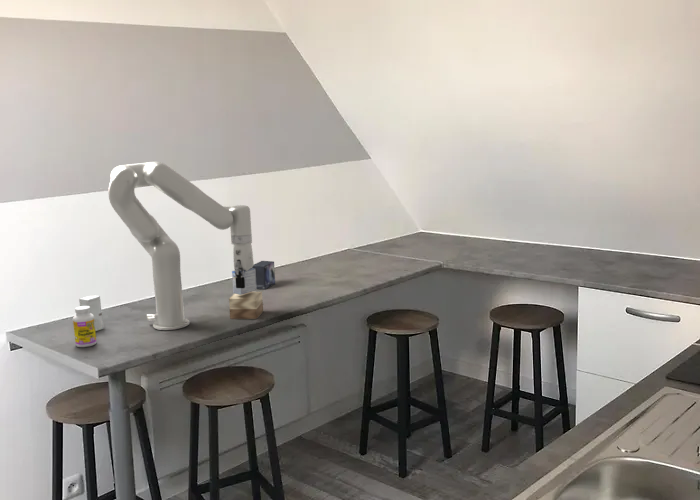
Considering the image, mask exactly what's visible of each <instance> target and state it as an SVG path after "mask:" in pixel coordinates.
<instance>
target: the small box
mask: <svg viewBox="0 0 700 500" xmlns="http://www.w3.org/2000/svg"><path fill="white" fill-rule="evenodd" d="M252 268H254V269H255V271H256V290H267V289H268V288H271V287H272V286H274V285H276V276H275V275H276V273H275V270H276V269H275V261H269V260H260V261H258V262H256V263H254V265H253V267H252Z"/></svg>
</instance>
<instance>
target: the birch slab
mask: <svg viewBox="0 0 700 500" xmlns="http://www.w3.org/2000/svg"><path fill="white" fill-rule="evenodd" d="M228 300H229V301H228V303H229V305H228V306H229V310H230V309H257V308H258V307H259V306H260V304H261V303H262V302H263V301H264V299H263V291H252V292H249V293H245V294H242V295H239V294H234V293H233V294H232V295H231V296H230V297H229V298H228ZM263 303H264V302H263Z"/></svg>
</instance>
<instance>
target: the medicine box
mask: <svg viewBox="0 0 700 500" xmlns="http://www.w3.org/2000/svg"><path fill="white" fill-rule="evenodd" d="M241 273H242V272H241ZM231 276H232V291H233V292H232V293H233V294H239V295H242V294H245V293H249V292H257V289H256V271H255V269H254V268H251V269H249V270H248V271H245V270H244V276H243V277H244V279H245V288H236V278H235V269H234V270H232V271H231Z"/></svg>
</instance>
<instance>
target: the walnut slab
mask: <svg viewBox="0 0 700 500" xmlns="http://www.w3.org/2000/svg"><path fill="white" fill-rule="evenodd" d="M263 313H264V302H262V303H261V304H260V306H259V307H258V308H257V309H230V308H229V319H230V320H231V319H232V320H244V319H245V320H257V319H258V318H259V317H260V315H262V314H263Z"/></svg>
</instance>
